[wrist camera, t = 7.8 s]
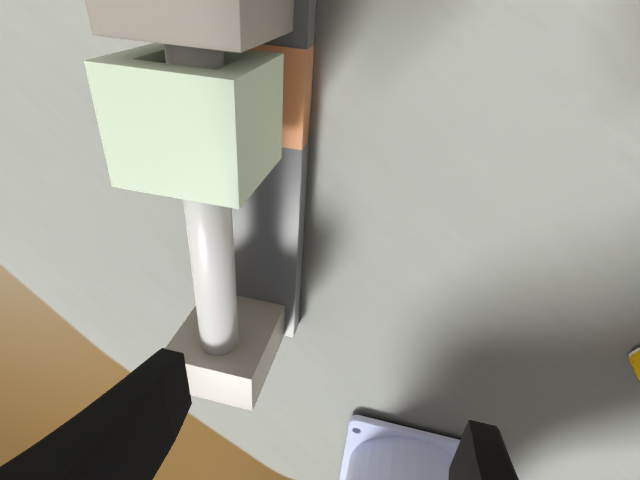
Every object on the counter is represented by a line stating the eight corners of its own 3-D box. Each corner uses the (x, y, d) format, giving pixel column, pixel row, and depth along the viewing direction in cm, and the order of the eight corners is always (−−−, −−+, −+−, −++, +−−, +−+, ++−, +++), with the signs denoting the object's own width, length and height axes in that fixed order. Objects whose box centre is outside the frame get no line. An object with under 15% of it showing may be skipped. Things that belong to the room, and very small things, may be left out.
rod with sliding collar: (298, 323, 22) (263, 413, 18) (210, 304, 23) (154, 385, 18) (319, -41, 13) (259, -47, 9) (174, -52, 14) (53, -63, 10)
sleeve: (281, 157, 15) (238, 209, 12) (179, 141, 16) (112, 186, 13) (283, 53, 13) (233, 80, 10) (167, 39, 14) (83, 60, 11)
